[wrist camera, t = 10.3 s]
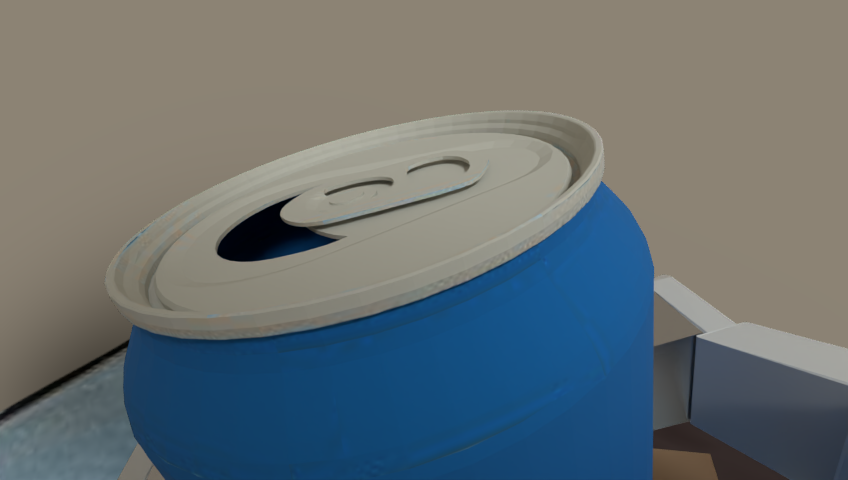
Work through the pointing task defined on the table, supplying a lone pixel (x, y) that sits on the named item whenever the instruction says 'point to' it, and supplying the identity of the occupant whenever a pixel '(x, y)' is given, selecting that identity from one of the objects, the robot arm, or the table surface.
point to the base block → (682, 465)
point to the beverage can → (397, 313)
